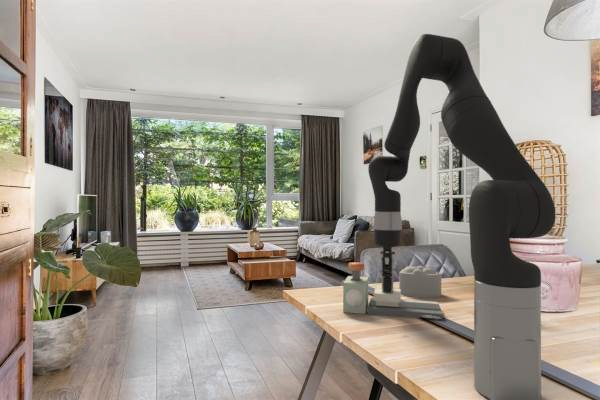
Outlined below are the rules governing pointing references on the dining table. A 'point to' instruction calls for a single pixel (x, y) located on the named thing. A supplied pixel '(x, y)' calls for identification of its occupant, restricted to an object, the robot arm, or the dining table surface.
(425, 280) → the grey lumpy-topped block
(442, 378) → the dining table surface
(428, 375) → the dining table surface
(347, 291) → the end cabinet
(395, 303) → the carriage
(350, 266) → the button
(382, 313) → the rail board
